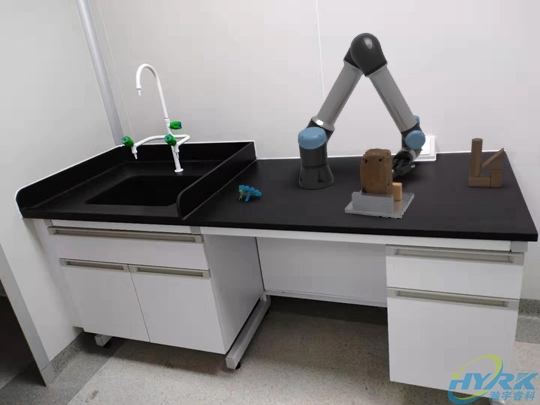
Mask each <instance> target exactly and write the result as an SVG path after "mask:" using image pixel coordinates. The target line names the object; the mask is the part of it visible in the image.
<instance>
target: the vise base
mask: <svg viewBox="0 0 540 405" xmlns="http://www.w3.org/2000/svg"><path fill="white" fill-rule="evenodd" d="M414 198H415V193H414V192H403V191H402V199H401V200H393V195H387V194H375V193H363V192H361V190H360V191H353V192H352V193H351V201H350V202H348V203H349V204H347V205H346V206H345V208H344V213H345V214H352V215H353V214H354V215H363V216H371V217H379V216H382V218H388V217H391V218H390V219H397V218H401V219H402V217H403V216H404V214H405V213H406V211H407V209H408V207H409V206H410V204H411V202H412V201H413V200H414ZM404 212H405V213H404ZM402 215H403V216H402Z"/></svg>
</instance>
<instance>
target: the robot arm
mask: <svg viewBox="0 0 540 405" xmlns="http://www.w3.org/2000/svg"><path fill="white" fill-rule="evenodd" d="M342 61H343V67H341V70H340V72H339V74H338V76H337V77H336V80H335V81H334V83H333V85H332V87H331V88H330V90H329V92H328V94H327V96H326V98H325V100H324V102H323V104H322V105H321V108H320V109H319V110H318V113H317V114H316V115H314V116H311V118H310V121H309V122H308V124H307V126H306V127H305V128H304V129H301V130H300V131H299V133H298V134H297V143H298V148H299V157H300V158H299V159H300V164H301V165H300V173H299V177H298V185H299V186H300V188H303V189H306V190H318V189H319V190H320V189H324V188H327V187H330V186H331V185H333V184H334V182H335V180H334V178H335V177H334V174H333V173H332V170H331V168H330V166H329V158H328V143H329V140H330V139H331V137H332V136H333V134H334V132H335V130H336V127H335V124H336V121H337V120H338V118H339V116H340V114H341V113H342V111H343V109H344V108H345V107H346V104H347V103H348V100H349V99H350V98H351V95H352V94H353V92H354V90H355V88H356V87H357V85H358V83H359V81H360V80H361V78H362V76H363V75H364V77H365V78H368V79H369V80H370V82H371V83H372V86H373V88H374V89H375V92H376V93H377V94H378V97H379V98H380V100H381V101H382V103H383V105H384V107H385V108H386V111H387V112H388V114H389V115H390V117H391V118H392V120H393V123H394V124H395V126H396V128H397V129H398V131H399V134H400V135H401V138H400V139H401V140H400V141H401V143H400V145H401V147H400V150H399V151H398V152H396V154H395V155H394V156H393V158H392V179H394V178H396V177H398V175H399V176H400V177H401V176H403V175H405V174H408V173H409V172H410V171H412V170H415V168H416V162H415V161H416V159H417V158H418V157H419V156H420V155H421V153H422V150H423V149H422V148H423V147H424V145H425V144H426V140H427V139H426V134H425V132H423V130H422V128H421V125H420V124H421V122H420V117H419V115H414V113H413V112H412V110H411V107H410V106H409V104H408V103H407V101H406V99H405V97H404V95H403V94H402V91H401V90H400V88H399V86H398V84H397V82H396V81H395V79H394V77H393V75H392V73H391V72H390V70H389V68H388V64H389V63H388V60H387V58H386V57H385V55H384V52H383V48H382V45H381V42H380V40H379V39H378V37H377V36H375V35H374V34H373V33H369V32H363V33H360V34H357V35H356V36H355V37H353V39H352V40H351V43H350V46H349V48H348V50H347V51H346V54H345V55H344V57H343V60H342Z"/></svg>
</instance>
